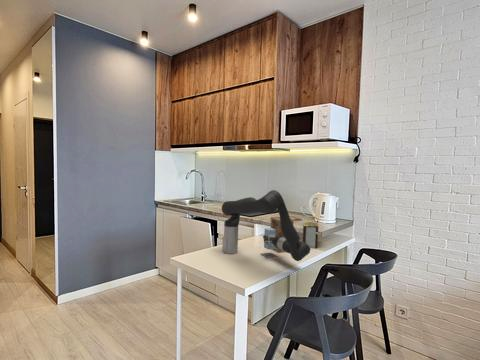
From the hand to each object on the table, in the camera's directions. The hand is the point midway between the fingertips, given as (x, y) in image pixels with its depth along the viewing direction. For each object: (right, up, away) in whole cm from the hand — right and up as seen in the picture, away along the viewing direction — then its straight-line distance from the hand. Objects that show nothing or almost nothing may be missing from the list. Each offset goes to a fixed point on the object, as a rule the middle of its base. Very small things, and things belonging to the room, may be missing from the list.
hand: (267, 236), depth 178 cm
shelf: (+13, -11, +13) cm, 22 cm away
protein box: (+34, -12, +27) cm, 44 cm away
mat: (+1, -12, -2) cm, 12 cm away
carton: (+1, -7, -2) cm, 7 cm away
